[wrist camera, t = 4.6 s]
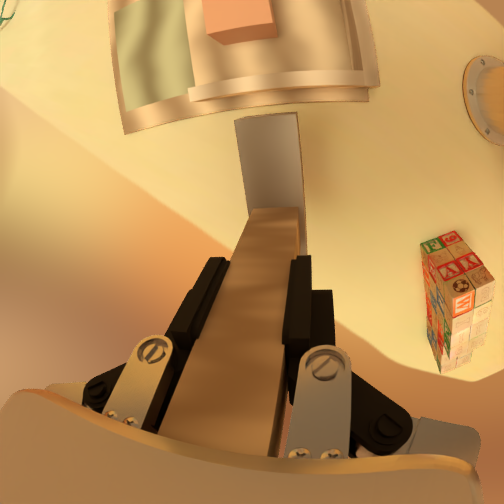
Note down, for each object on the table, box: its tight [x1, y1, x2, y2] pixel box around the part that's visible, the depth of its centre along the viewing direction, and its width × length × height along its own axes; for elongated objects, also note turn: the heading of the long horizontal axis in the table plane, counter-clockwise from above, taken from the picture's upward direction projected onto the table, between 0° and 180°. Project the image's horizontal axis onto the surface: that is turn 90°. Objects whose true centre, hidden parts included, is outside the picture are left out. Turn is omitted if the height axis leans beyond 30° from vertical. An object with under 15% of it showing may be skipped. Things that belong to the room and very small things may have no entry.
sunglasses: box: [0, 0, 16, 26], centre depth 14 cm, size 14×15×5 cm
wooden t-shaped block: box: [157, 112, 307, 457], centre depth 11 cm, size 3×12×16 cm, turn 8°
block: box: [202, 0, 278, 46], centre depth 18 cm, size 6×6×6 cm
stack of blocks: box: [420, 231, 495, 374], centre depth 30 cm, size 21×6×12 cm, turn 27°
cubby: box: [108, 0, 380, 135], centre depth 20 cm, size 30×22×6 cm
